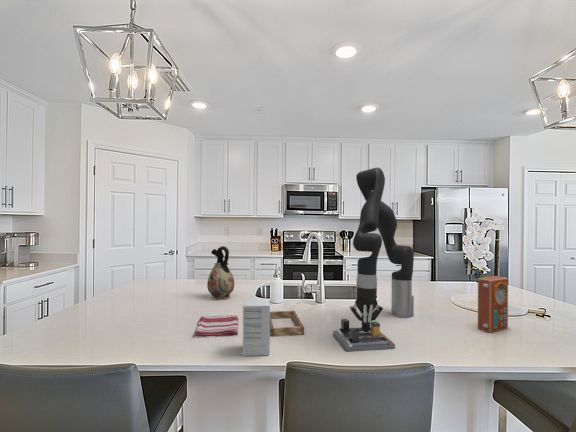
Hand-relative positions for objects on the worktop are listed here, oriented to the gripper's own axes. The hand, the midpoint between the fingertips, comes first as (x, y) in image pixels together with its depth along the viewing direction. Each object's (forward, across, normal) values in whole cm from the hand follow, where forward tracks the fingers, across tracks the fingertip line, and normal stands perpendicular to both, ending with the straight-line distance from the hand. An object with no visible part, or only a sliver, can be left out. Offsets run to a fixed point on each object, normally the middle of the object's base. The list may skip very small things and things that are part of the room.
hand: (365, 331), depth 123 cm
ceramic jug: (+4, +57, -73) cm, 93 cm away
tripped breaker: (+2, -4, 0) cm, 4 cm away
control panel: (+3, -59, -6) cm, 59 cm away
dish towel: (+5, +56, -24) cm, 61 cm away
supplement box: (+4, +41, +3) cm, 42 cm away
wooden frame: (+4, +28, -21) cm, 35 cm away
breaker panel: (+4, +1, 0) cm, 4 cm away
